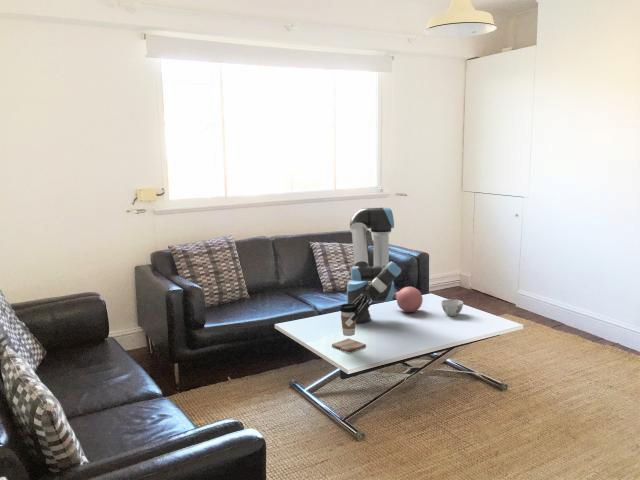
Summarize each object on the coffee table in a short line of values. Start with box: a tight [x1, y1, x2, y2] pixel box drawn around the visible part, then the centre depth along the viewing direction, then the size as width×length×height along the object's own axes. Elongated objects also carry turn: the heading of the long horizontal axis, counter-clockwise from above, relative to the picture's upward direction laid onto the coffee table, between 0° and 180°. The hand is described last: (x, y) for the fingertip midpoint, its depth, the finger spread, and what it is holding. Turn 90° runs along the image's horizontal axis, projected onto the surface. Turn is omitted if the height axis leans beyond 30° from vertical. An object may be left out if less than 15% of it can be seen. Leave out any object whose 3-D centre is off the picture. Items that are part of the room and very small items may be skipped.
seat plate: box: [331, 337, 366, 353], centre depth 270 cm, size 12×12×1 cm
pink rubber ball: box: [393, 286, 424, 313], centre depth 324 cm, size 15×20×15 cm
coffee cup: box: [339, 303, 357, 337], centre depth 267 cm, size 8×8×15 cm
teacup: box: [440, 299, 464, 317], centre depth 315 cm, size 15×12×8 cm
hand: (344, 322), depth 267 cm, fingers closed on coffee cup, 8 cm apart
